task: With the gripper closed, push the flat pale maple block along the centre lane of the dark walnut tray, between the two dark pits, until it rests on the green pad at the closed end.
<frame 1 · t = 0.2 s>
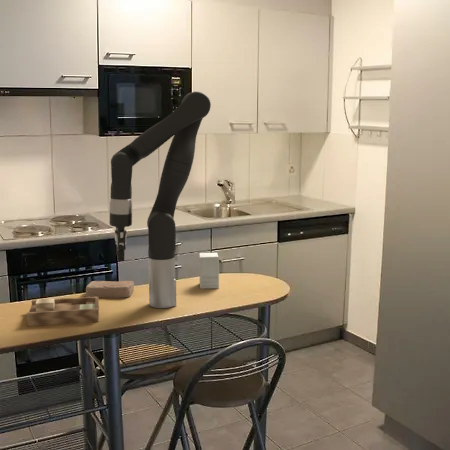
hand: (120, 258, 210), 17 cm above the table, tool pointing down, fingers open, 8 cm apart
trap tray: (64, 316, 203), on the table
supplement box: (209, 286, 239), on the table
brick: (110, 295, 228), on the table
block: (45, 309, 201), point 3 cm above the table, touching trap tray
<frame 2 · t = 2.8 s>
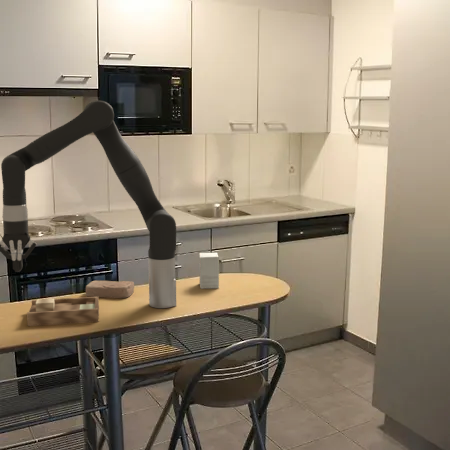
hand: (17, 271, 198), 16 cm above the table, tool pointing down, fingers closed
nothing on the table moved.
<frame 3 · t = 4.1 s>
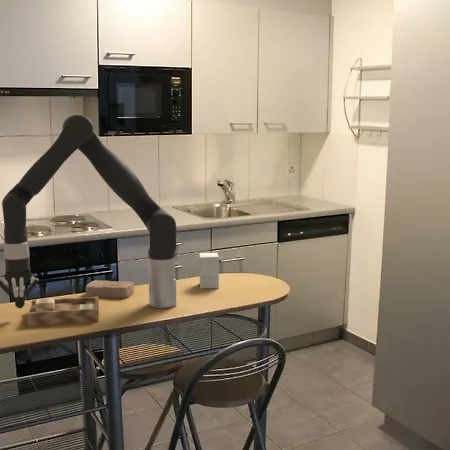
hand: (20, 307, 199), 4 cm above the table, tool pointing down, fingers closed
nothing on the table moved.
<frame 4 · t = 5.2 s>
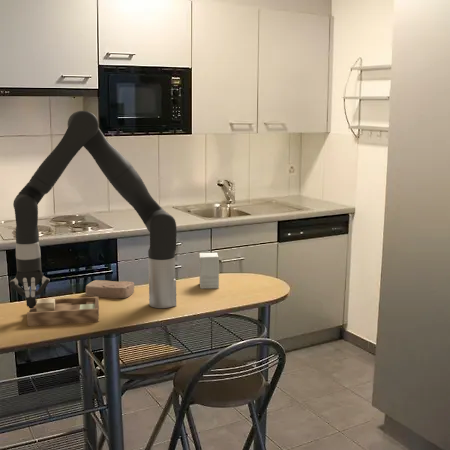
hand: (31, 307, 200), 4 cm above the table, tool pointing down, fingers closed
block: (46, 309, 201), point 3 cm above the table, touching gripper
everything else where it was.
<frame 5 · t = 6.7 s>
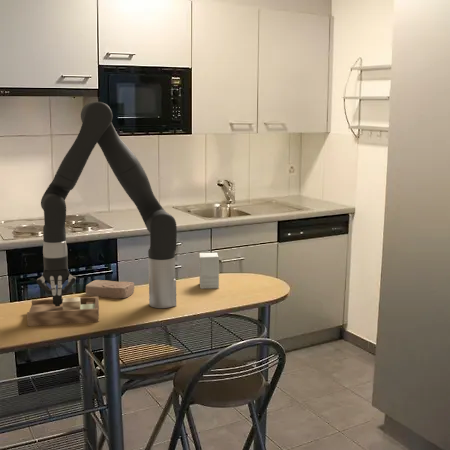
hand: (57, 305, 202), 4 cm above the table, tool pointing down, fingers closed
block: (71, 307, 203), point 3 cm above the table, touching gripper, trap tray
everything else where it was.
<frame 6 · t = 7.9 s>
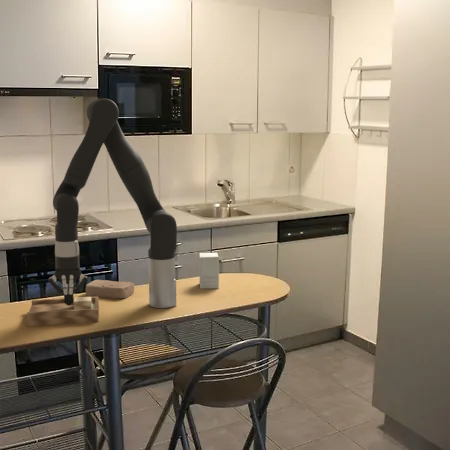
hand: (68, 304, 202), 4 cm above the table, tool pointing down, fingers closed
block: (82, 307, 203), point 3 cm above the table, touching gripper, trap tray
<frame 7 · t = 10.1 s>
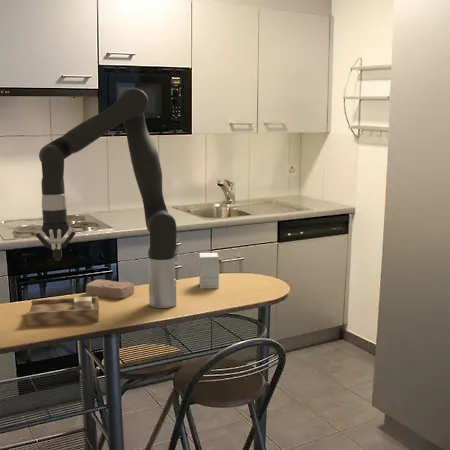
hand: (57, 260, 200), 19 cm above the table, tool pointing down, fingers closed
block: (83, 307, 203), point 3 cm above the table, touching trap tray
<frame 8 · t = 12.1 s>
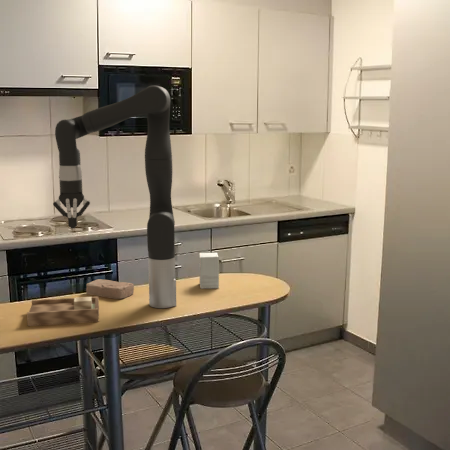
hand: (72, 228, 213), 27 cm above the table, tool pointing down, fingers closed
at the end: block 0.5 cm from the target spot on the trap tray, point 3.0 cm above the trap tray's base; block tilted 0° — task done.
